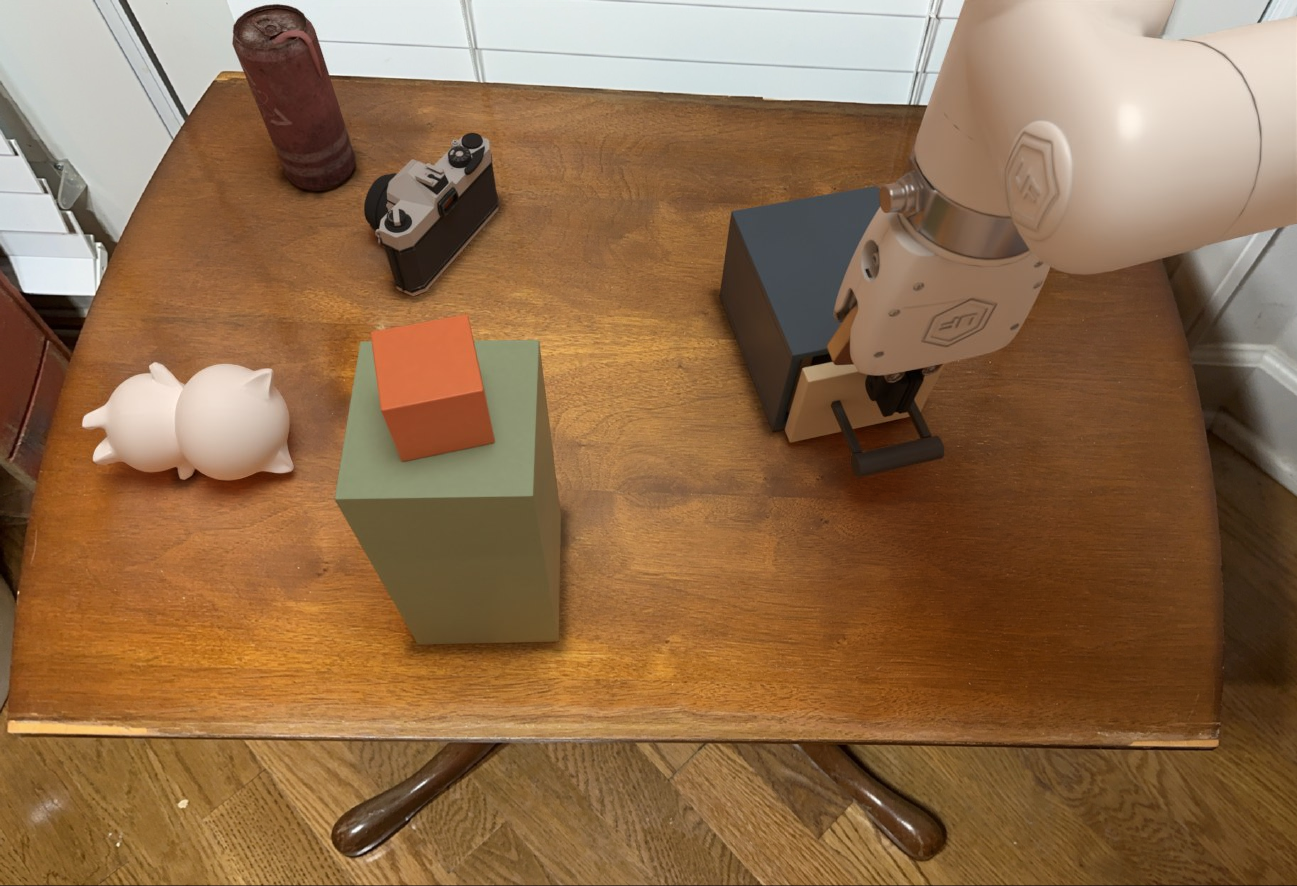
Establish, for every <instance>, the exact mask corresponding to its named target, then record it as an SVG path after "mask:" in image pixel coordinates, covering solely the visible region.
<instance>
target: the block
mask: <svg viewBox="0 0 1297 886" xmlns="http://www.w3.org/2000/svg"><path fill="white" fill-rule="evenodd" d="M370 341H371V342H372V349H373V356H374V364H375V371H376V378H377V386H378V393H379V400H380V408H381V412H382V414H383V417H384V419H385V422H386V424H387V427H388V429H389V432H390V434H391V436H392V439H393V441H394V444H395V446H396V449H397V451H398V454H399V456H400V459H401V461H402V462H404V461H409V460H414V459H419V458H424V457H428V456H433V455H438V454H443V453H448V452H453V451H457V450H462V449H467V448H472V447H477V446H482V445H486V444H491V443H495V438H494V433H493V428H492V423H491V419H490V414H489V409H488V404H487V399H486V394H485V390H484V385H483V380H482V375H481V370H480V366H479V361H478V357H477V353H476V348H475V344H474V335H473V331H472V325H471V321H470V317H469V315H468V314H467V313H464V314H459V315H454V316H449V317H442V318H438V319H432V320H427V321H421V322H416V323H411V324H410V323H409V324H406V325H399V326H394V327H389V328H383V329H378V330H377V329H376V330H373V331H371V332H370Z"/></svg>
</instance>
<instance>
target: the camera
mask: <svg viewBox="0 0 1297 886" xmlns="http://www.w3.org/2000/svg"><path fill="white" fill-rule="evenodd" d="M450 146H451V147H450V148H449V149H448V151H446V152H445V154H443V156H441V157H440V158H439V159H438V161H437V162H436V163H434V164H432V163H429V162H427V163H425V162H422V161H419V160H416V159H413V158H411V159H410V161H409V162H408V163H406V164H405V165H404V167H402V168H401V169H400V170H399V171H398V172H397V173H396V172H392V173H387V174H383V175H380V176H379V177H377V178H376V179H375V180H374V181H373V182H372V184H371V185H370V187H369V189H368V190H367V193H366V195H365V199H364V203H363V213H364V217H365V220H366V222H367V223H368V224H369V226H370V228H371V230H373V231H374V234H375V236H376V237H377V238H378V239H377V240H378V245H380V244H381V243H382V246H383V247H384V251H385V254H386V257H387V260H388V261H387V262H388V264H389V267H390V270H391V273H392V274H391V275H392V277H393V280H394V286H395V287H396V289H397V290H398V291H400V292H402V293H405V294H407V295H409V296H410V297H415V296H418V295H421V294H423V293H427V291H428V290H429V288H431V287H432V285H433V284H434V283H435V282H437V280H438V279H439V278H440V276H441V275H442V274H443V273H445V271H446V270H447V269H448V267H449V266H450V265H451V264H452V263H453V262H454V261H455V260H456V259H457V257H459V255H460V254H461V253H462V252H463V250H464V249H465V248H466V247H467V246H468V245H469V244H470V243H471V242H472V241H473V239H474V238H475V237H476V236H477V235H478V234H479V233H480V232H481V230H482V229H483V228H484V227H485V226H486V225H487V224H488V222H489V221H490V220H492V217H494V216H495V214H496V213H497V212H498V211H499V196H498V195H499V194H498V192H497V186H496V185H497V184H496V177H495V171H494V164H493V155H492V151H491V145H490V140H489V139H488V138H486V137H483V136H482V135H481V134H479V133H477V132H467V133H466V134H464V135H463V136H461V137H460V138H459V139H453V140H452V141H451V143H450Z"/></svg>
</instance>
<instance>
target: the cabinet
mask: <svg viewBox="0 0 1297 886" xmlns="http://www.w3.org/2000/svg"><path fill="white" fill-rule="evenodd" d="M879 192H880V188H879V186H878V185H872V186H866V187H861V188H855V189H850V190H845V191H839V192H832V193H827V194H820V195H815V196H810V197H809V196H808V197H804V198H799V199H798V198H797V199H793V200H786V201H781V202H777V203H770V204H764V205H758V206H751V207H748V208H747V207H746V208H741V209H735V210H731V211H730V212H731V213H730V218H729V226H728V232H727V240H726V246H725V254H724V261H723V268H722V275H721V282H720V291H719V299H720V301H721V304H722V306H723V308H724V312H725V313H726V316H727V318H728V322H729V324H730V326H731V329H732V332H733V334H734V337H735V339H736V342H737V344H738V347H739V350H740V351H741V354H742V357H743V359H744V362H745V364H746V367H747V369H748V372H749V375H750V377H751V380H752V382H753V385H754V388H755V390H756V393H757V395H758V398H759V400H760V403H761V406H762V408H763V410H764V413H765V416H766V418H767V421H768V423H769V426H770V428H771V431H772V432H777V431H781V430H785V427H786V424H787V420H788V417H789V413H790V412H787V407H788V404H789V400H790V397H791V393H792V390H793V386H794V382H795V379H796V375H797V372H798V368H799V365H800V361H801V359H805V358H810V357H815V356H820V355H825V354H829V352H828V350H827V344H828V343H829V341H830V340H831V338H832V337H833V335H834V334H835V332H836V331H837V329H838V328H839V326H840V325H841V323H842V322H837V321H835V320H834V317H833V314H834V308H835V303H836V299H837V296H838V293H839V290H840V287H841V284H842V282H843V279H844V276H845V274H846V271H847V269H848V266H849V264H850V262H851V259H852V257H853V255H854V253H855V251H856V249H857V247H858V245H859V243H860V241H861V239H862V237H863V235H864V233H865V231H866V229H867V228H868V226H869V224H870V222H871V221H872V219H873V217H874V216H875V214H876V212H877V211H878V209H879V208H880V202H879Z"/></svg>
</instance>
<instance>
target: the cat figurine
mask: <svg viewBox="0 0 1297 886" xmlns="http://www.w3.org/2000/svg"><path fill="white" fill-rule="evenodd" d="M148 369H149V372H146V373H145V372H143V373H139V374H135V375H133V376H131V377H129V378H127V379H125V380H123V382H121V383H120V384H119V385H118V386H117V387H116V388H115V390H114V391H112V393H111V395H110V397H109V399H108V401H107V402H106V403H105V404H103V405H102V406H100V407H98V408H97V409H94V410H91V411H89V412H87V413H86V414H85V415H84V416H83V417H82V423H81V427H82V429H84V430H90V431H92V430H95V429H98V428H99V429H103V430H104V431H105V434H106V436H105V437H104V439H103V440H101V441H100V442H99V444H98V445H97V446H96V448H95V449H94V451H93V455H92V461H93V462H94V463H95V464H96V465H98V466H106V465H110V464H111V465H112V464H115V463H119V462H120V463H124V464H126V465H128V466H130V467H132V468H133V469H136V470H138V471H141V472H144V473H158V472H159V473H160V472H164V471H167V470H171V469H173V468H177V474H178V477H179V479H180V480H184V481H186V480H187V479H189V478H190V477H192V476H193V474H194V473H195V470H196V471H198V472H200V473H201V474H203V475H205V476H206V477H209V478H212V479H215V480H220V481H236V480H241V479H245V478H247V477H250V476H252V475H254V474H256V473H260V472H267V473H274V474H287V473H291V472H292V471H293V470H294V468H295V465H294V463H293V461H292V457H291V455H290V454H291V453H290V451H289V445H288V439H289V432H290V428H291V426H290V425H291V422H290V421H291V417H290V412H289V408H288V405H287V403H286V401H285V398H284V397H283V396H282V394H281V392H280V391H279V390H278V388H276V386H275V372H274V369H272V368H269V367H266V368H260V369H258V370H253V369H250V368H248V367H245V366H242V365H239V364H233V363H217V364H214V365H209V366H207V367H205V368H203V369H201V370H199V371H197V372H196V373H195V374H194V375H193V376H192V377H191V378H190V379H189V380H188V381H187V382H186V383H185V384H184V383H183V382H181V381H179V380H178V379H177V378H176V377H175V376H174V374H173V373H172V372H171V371H170V370H169V369H168V368H167V367H166V366H165V364H162V363H159V362H156V361H153V363H151V364H149V366H148Z"/></svg>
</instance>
